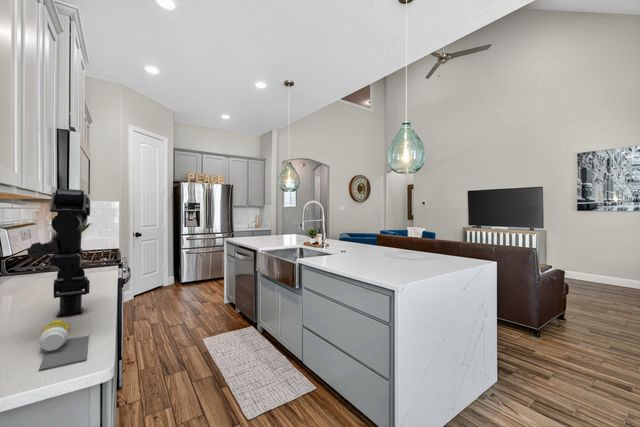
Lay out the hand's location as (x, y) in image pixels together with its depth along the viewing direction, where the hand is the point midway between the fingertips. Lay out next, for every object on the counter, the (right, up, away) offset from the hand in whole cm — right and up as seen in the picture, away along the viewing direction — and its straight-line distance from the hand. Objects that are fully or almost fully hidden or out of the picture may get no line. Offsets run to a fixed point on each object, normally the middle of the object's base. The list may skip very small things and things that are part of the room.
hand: (67, 285), depth 84 cm
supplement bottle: (+4, -10, -7) cm, 13 cm away
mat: (+12, -13, -13) cm, 22 cm away
